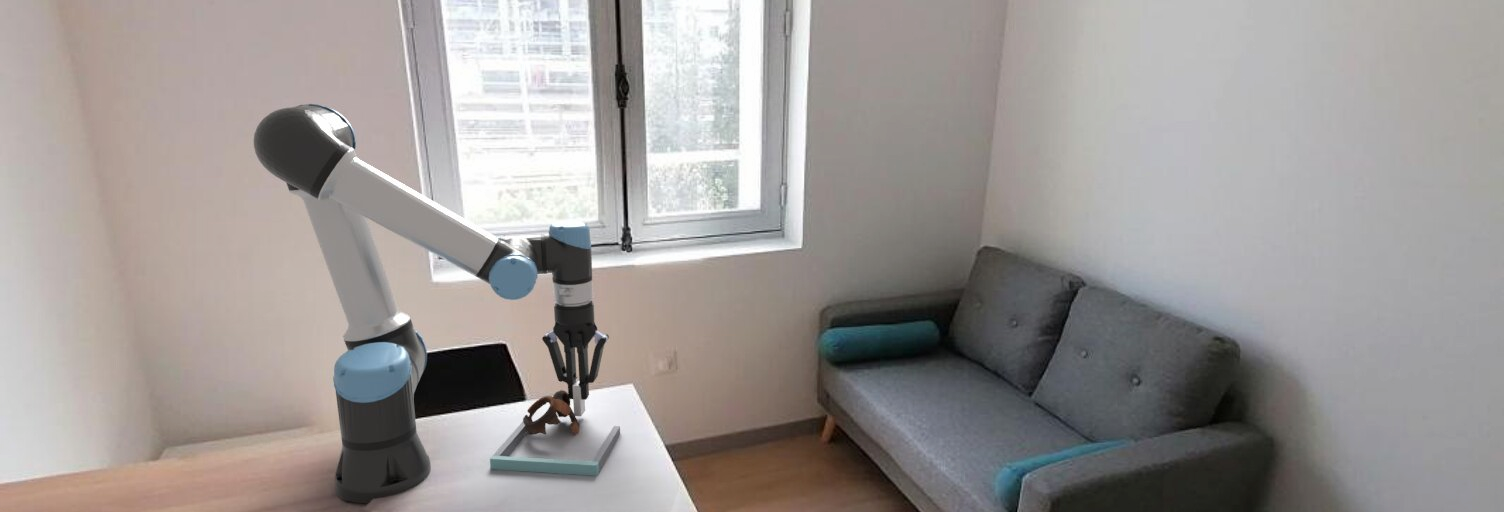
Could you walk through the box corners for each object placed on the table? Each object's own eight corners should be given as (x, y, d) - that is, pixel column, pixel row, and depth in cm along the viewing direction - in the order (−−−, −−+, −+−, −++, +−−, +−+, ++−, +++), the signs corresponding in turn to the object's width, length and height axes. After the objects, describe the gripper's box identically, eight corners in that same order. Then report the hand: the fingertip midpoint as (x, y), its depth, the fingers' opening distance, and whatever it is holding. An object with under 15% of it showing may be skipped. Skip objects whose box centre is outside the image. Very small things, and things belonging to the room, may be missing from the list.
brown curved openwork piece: (577, 446, 149) (551, 419, 145) (538, 461, 152) (511, 434, 148) (591, 401, 159) (567, 374, 155) (554, 415, 162) (529, 389, 158)
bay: (490, 469, 139) (489, 458, 139) (523, 430, 154) (523, 420, 154) (597, 475, 137) (596, 465, 137) (620, 435, 152) (619, 426, 152)
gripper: (534, 305, 148) (541, 420, 154) (601, 308, 147) (606, 423, 153) (547, 294, 156) (554, 404, 161) (611, 296, 155) (616, 406, 160)
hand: (579, 413), depth 157 cm, fingers closed
